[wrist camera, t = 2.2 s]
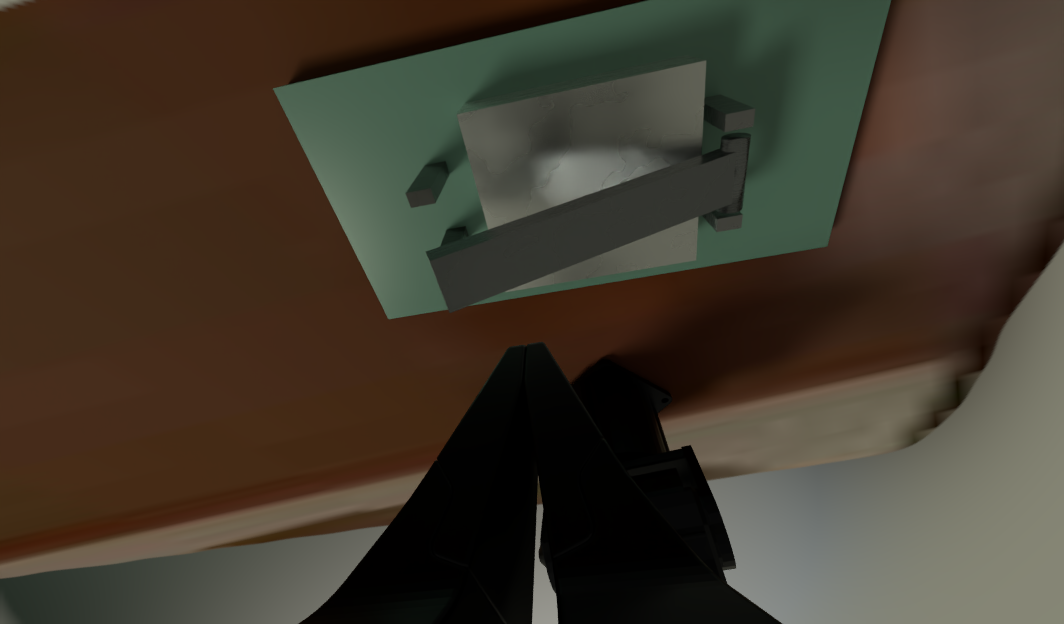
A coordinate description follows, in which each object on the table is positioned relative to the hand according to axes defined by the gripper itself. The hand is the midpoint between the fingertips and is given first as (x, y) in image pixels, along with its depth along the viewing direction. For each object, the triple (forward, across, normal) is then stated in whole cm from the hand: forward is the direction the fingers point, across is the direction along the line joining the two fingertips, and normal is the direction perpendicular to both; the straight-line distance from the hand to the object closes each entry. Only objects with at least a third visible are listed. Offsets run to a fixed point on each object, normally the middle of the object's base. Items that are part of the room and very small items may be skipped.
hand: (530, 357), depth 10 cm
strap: (+7, -3, 0) cm, 8 cm away
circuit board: (+13, -3, 0) cm, 13 cm away
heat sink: (+12, -2, 0) cm, 12 cm away
